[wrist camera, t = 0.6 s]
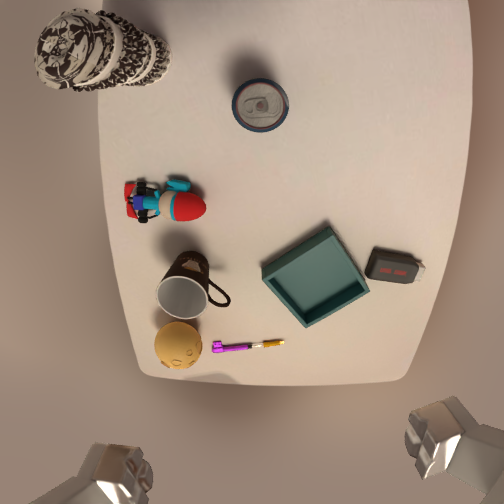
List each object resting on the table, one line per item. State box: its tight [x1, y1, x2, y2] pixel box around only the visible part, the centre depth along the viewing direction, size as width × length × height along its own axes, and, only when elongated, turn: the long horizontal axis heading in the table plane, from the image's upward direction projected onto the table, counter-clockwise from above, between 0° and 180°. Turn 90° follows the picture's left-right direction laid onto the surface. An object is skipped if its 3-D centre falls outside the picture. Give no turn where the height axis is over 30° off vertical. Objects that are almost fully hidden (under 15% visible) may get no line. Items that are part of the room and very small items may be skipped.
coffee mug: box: [156, 251, 231, 319], centre depth 55 cm, size 12×9×10 cm
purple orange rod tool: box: [212, 341, 284, 353], centre depth 67 cm, size 3×1×16 cm
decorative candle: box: [34, 8, 172, 92], centre depth 30 cm, size 9×9×25 cm
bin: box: [262, 226, 370, 328], centre depth 58 cm, size 15×15×4 cm
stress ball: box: [154, 322, 202, 369], centre depth 62 cm, size 10×10×10 cm
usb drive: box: [365, 250, 426, 284], centre depth 57 cm, size 5×12×3 cm, turn 81°
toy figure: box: [124, 179, 206, 223], centre depth 51 cm, size 8×5×15 cm
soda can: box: [232, 78, 289, 132], centre depth 39 cm, size 7×7×12 cm
